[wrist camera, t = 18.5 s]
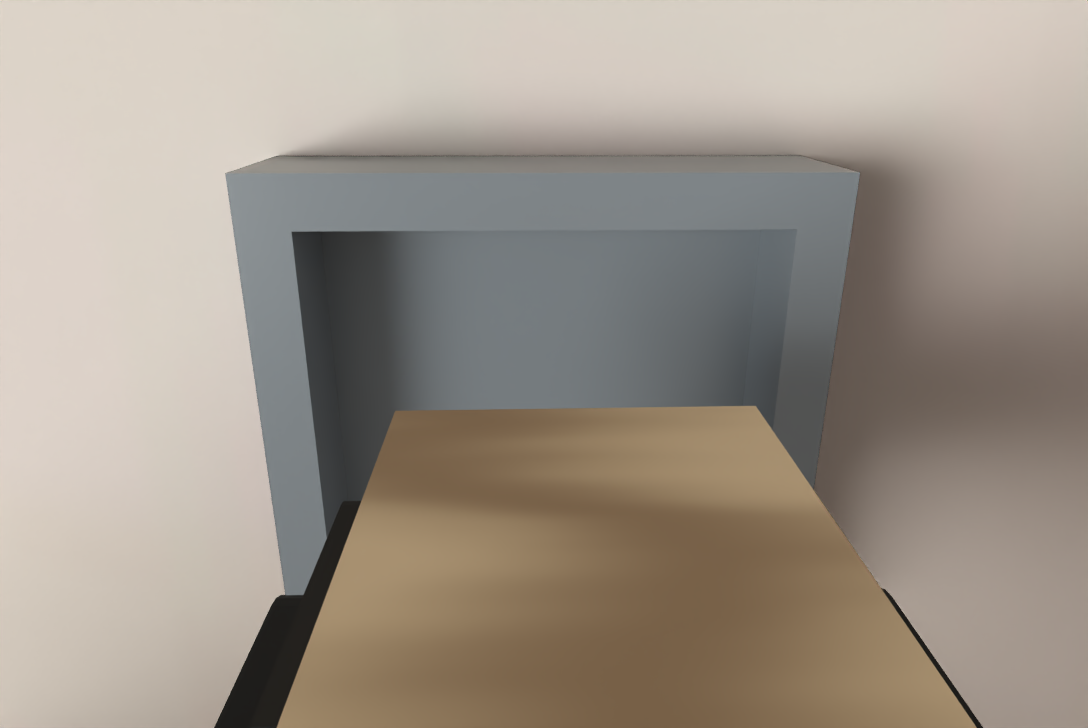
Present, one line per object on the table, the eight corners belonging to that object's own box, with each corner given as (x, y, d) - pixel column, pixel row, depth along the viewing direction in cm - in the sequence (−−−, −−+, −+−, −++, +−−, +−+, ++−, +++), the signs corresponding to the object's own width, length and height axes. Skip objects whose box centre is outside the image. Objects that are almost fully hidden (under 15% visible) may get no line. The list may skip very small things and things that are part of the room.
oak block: (418, 691, 12) (327, 1229, 7) (395, 410, 10) (242, 817, 5) (726, 685, 12) (897, 1207, 7) (754, 405, 11) (1025, 796, 5)
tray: (328, 594, 20) (297, 680, 17) (276, 155, 16) (225, 172, 13) (749, 585, 20) (787, 668, 17) (800, 155, 16) (860, 172, 13)
